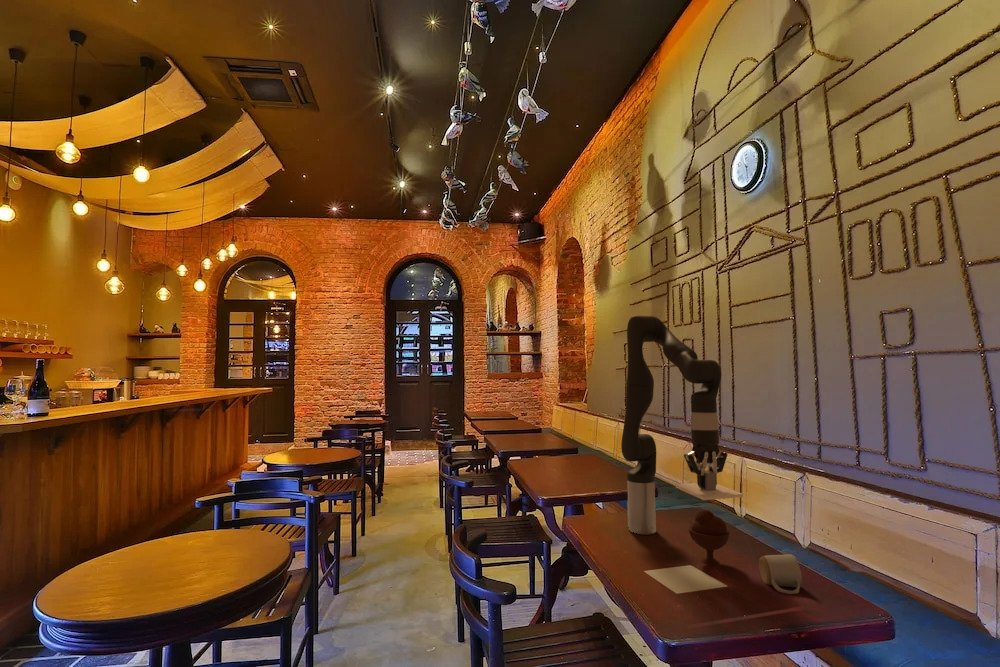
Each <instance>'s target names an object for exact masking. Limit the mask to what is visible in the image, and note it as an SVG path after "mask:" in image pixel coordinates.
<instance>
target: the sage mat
mask: <svg viewBox="0 0 1000 667" xmlns="http://www.w3.org/2000/svg"><path fill="white" fill-rule="evenodd" d="M643 572H644V573H646V574H647V575H648V576H650V577H652V578H653V579H655V580H656V581H657V582H659V583H660V584H662V585H663V586H665V587H666V588H667V589H668V590H670V591H672V592H673V593H675V594H677V595H678V594H685V593H692V592H693V593H694V592H699V591H704V590H705V591H706V590H712V589H713V590H714V589H720V588H725V587H728V585H726V584H725V583H723V582H721V581H720V580H718V579H716V578H714V577H712V576H711V575H709V574H707V573H705V572H703V571H702V570H700V569H698V568H697V567H695V566H693V565H691V564H690V565H688V564H687V565H681V566H674V567H667V568H666V567H665V568H658V569H652V570H651V569H648V570H643Z"/></svg>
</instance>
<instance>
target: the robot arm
mask: <svg viewBox="0 0 1000 667" xmlns="http://www.w3.org/2000/svg"><path fill="white" fill-rule="evenodd" d="M626 338H627V339H626V341H627V375H626V391H625V400H626V401H625V413H624V423H623V429H622V436H621V448H620V449H621V454H622V457H623V459H624V460H625V461H627V462H631V463H632V462H634V463H635V462H637V464H636V465H635V466H634V467H633V468H632V469H629V470H628V471H627V474H626V477H627V478H626V479H627V480H626V482H627V484H626V485H627V501H626V506H627V507H626V508H627V512H626V513H627V528H628V527H629V528H628V531H629V530H630V532H631V533H633V532H634V533H633V534H636V533H637V534H638V535H653V534H655V533H657V523H656V522H657V520H656V519H657V518H656V492H655V491H656V489H655V487H656V486H655V476H656V473H657V472H656V471H657V444H656V441H655V439H654V437H653V436H652V435H651V434H648V433H642V434H641V433H640V426H641V423H642V419H643V418H644V416H645V415H646V413H647V411H648V410H649V409H650V407H651V404H652V402H653V400H654V388H655V387H654V386H655V380H654V379H655V378H654V377H653V375H652V372H651V370H650V368H649V366H648V364H647V363H646V360H645V358H644V352H643V349H644V348H643V343H652V342H653V343H656V344H658V345H659V346H661V347H662V352H663V355H664V356H665V358H666V359H667V360H668V361H670V362H671V364H673V365H674V366H675V367H676V368H678V370H679V372H680V373H681V375H682V377H683V378H684V380H685V381H687V382H689V383H691V384H696V385H697V384H699V385H700V384H701V388H700V390H698V391H695V392H693V393H691V395H690V410H691V411H690V412H691V414H690V430H691V431H690V433H691V434H690V436H691V443H692V448H691V451H690V452H689V453H684V455H683V457H684V459H685V462H686V464H687V466H688V468H689V471H690V472H691V473H693V474H696V479H697V481H696V483H697V484H698V486H699V488H702V489H705V476H704V474H705V471H706V468H707V469H708V470H710V471H712V472H715V473H716V485H717V484H718V480H717V475H718V474H719V473H722V472H723V470H724V467H725V463H726V461H727V458H728V452H725V451H722V450H720V448H719V444H720V431H719V429H720V428H719V418H718V410H717V397H718V394H719V389H720V385H721V384H720V383H721V380H722V369H721V366H720V364H719V363H718V362H717V361H715V360H712V359H699V358H698V354H697V353H696V351H694V350H693V349H692V348H691V347H689V346H688V345H686V344H685V343H684V342H682V341H680V339H678V337H676V335H674V334H673V332H672V331H671V330H670V329H669V328H668V326H666V325H665V323H664V322H663V321H661V319H660V318H658V317H656V316H654V315H639V314H637V315H636V314H635V315H632V316H631V317H630V318H629V320H628V323H627V326H626Z"/></svg>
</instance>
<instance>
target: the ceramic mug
mask: <svg viewBox="0 0 1000 667" xmlns="http://www.w3.org/2000/svg"><path fill="white" fill-rule="evenodd" d="M758 569H759V573H760V574H759V575H760V577H761V579H762V581H763V582H764V584H766V585H767V586H772V587H773V588H774V589H775V590H776V591H777V592H780V593H783V594H788V595H795V594H796V595H797V594H799V593H800V588H801V586H802V582H803V581H802V580H803V579H802V578H803V577H802V571H801V567H800V564H799V561H798V560H797V558H796V556H795V555H794V554H790V553H789V554H788V553H787V554H767V555H763V556H761V557H760V558H759V560H758ZM782 587H787V588H795V589H794V590H787V589H784V588H782Z"/></svg>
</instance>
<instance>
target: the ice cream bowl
mask: <svg viewBox="0 0 1000 667" xmlns="http://www.w3.org/2000/svg"><path fill="white" fill-rule="evenodd" d="M688 532H689V535H690V537H691V539H692V541H693V542H695V544H697V545H698V546H699V547H700V548H702V549H704V550H705V551H706V557H704V558H702V559H701V560H700V562H701V563H703V564H705V565H707V566H719V565H720V561H718V560H717V559H716V558H714V552H715V551H717V550H720V549H722V548H723V547H724V546H725V545H726V544H727V543H728V541H729V536H730V530H728V528H727V523H725V521H724V520H723V518H721V517H718V516H717V515H715V514H714V512H712V511H711V510H709V509H705V508H702V509H699V510H698V511H697V512H696V513H695V516H694V522H692V525H691V526H689V529H688Z"/></svg>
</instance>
